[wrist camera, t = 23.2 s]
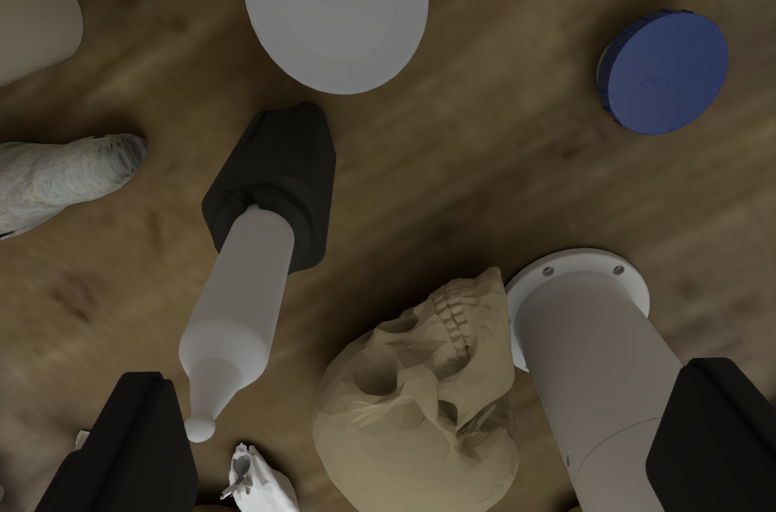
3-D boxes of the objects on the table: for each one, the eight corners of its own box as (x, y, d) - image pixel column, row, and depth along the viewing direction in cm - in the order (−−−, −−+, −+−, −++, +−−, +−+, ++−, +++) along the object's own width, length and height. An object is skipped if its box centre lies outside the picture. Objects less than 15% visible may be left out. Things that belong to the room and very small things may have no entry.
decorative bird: (168, 175, 37) (127, 224, 31) (-38, 231, 39) (-118, 288, 32) (129, 99, 34) (75, 135, 28) (-90, 162, 36) (-190, 210, 30)
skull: (495, 305, 29) (241, 465, 35) (654, 499, 33) (403, 611, 40) (477, 220, 41) (292, 350, 48) (594, 370, 46) (411, 471, 52)
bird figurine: (274, 506, 46) (312, 535, 53) (266, 433, 50) (302, 469, 58) (219, 525, 46) (265, 551, 53) (217, 450, 50) (259, 484, 58)
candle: (269, 185, 38) (148, 509, 16) (245, 114, 35) (61, 389, 14) (340, 170, 37) (310, 481, 16) (320, 98, 35) (253, 352, 13)
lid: (735, 22, 31) (753, 26, 30) (677, 137, 34) (691, 146, 33) (626, -5, 30) (639, -2, 29) (578, 116, 33) (588, 123, 32)
